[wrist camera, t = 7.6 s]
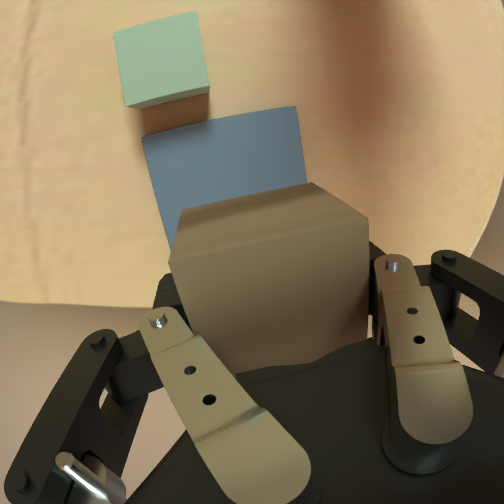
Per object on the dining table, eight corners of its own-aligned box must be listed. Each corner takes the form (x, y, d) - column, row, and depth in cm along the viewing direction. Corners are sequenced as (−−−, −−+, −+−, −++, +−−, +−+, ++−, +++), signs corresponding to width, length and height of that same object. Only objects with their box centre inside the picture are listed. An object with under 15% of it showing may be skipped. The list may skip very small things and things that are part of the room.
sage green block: (130, 48, 19) (113, 32, 14) (198, 31, 19) (196, 11, 15) (141, 109, 21) (125, 106, 17) (209, 92, 22) (209, 85, 17)
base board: (143, 136, 22) (141, 137, 21) (292, 106, 23) (295, 106, 22) (179, 270, 27) (178, 275, 26) (310, 241, 28) (314, 246, 27)
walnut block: (181, 209, 12) (168, 262, 8) (311, 182, 13) (368, 217, 8) (213, 318, 15) (218, 397, 10) (323, 292, 15) (365, 359, 10)
